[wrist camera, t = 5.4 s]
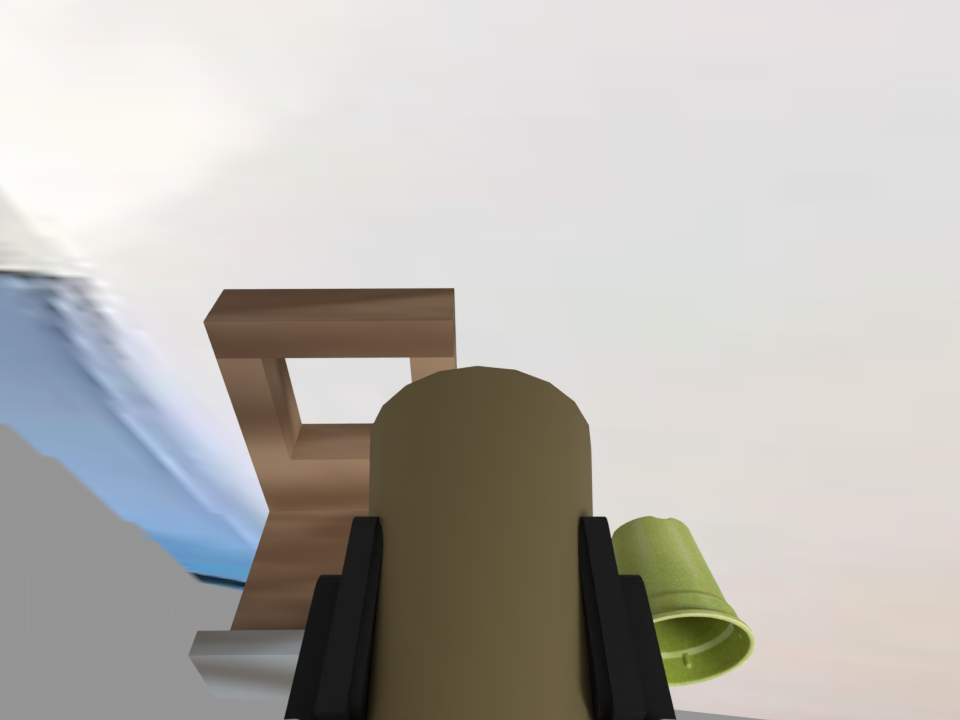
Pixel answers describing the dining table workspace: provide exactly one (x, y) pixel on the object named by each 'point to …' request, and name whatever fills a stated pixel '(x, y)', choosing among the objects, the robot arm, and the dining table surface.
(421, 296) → the socket stand
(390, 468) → the cork
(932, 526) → the dining table surface
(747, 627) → the plant pot
